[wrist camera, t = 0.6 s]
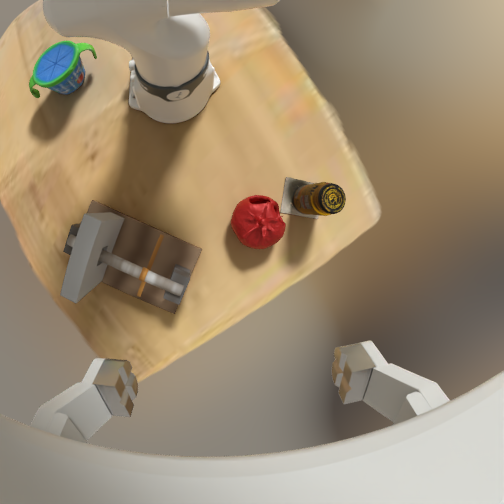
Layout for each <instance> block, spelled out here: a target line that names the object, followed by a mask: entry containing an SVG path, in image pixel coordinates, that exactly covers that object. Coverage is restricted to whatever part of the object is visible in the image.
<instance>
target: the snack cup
mask: <svg viewBox="0 0 504 504" xmlns="http://www.w3.org/2000/svg"><path fill="white" fill-rule="evenodd" d="M85 50H90V51H91V52H92V53H93V56H94V58H95V59H96V58H97V56H96V53H95V50H94V48H93V46H91V45H90V44H87V43H78V44H75V43H73V42H71V41H62V42H59V43H56V44H54V45H52V46H51V47H49V48H48V49H47V50H46V51H45V52H44V53H43V54H42V55H41V56H40V57H39V59H38V61H37V62H36V64H35V67H34V70H33V75H32V77H31V79H30V82H29V87H30V91H31V93H32V95H33V96H35V97H36V98H39V97H40V93H39V91H38V90H36V89H34V88H32V87H33V86H34V85H35V84H37V85H39V86H41V87H45V88H48V89H51V90H53V91H55V92H57V93H60V94H66V95H67V94H70V93H72V92H74V91H75V90H76V89H77V88H78V87H80V86H81V85H82V83H83V80H84V78H85V69H84V66H83V64H82V61H81V58H80V56H79V55H80V53H81V52H82V51H85Z"/></svg>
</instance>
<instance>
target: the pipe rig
mask: <svg viewBox="0 0 504 504" xmlns="http://www.w3.org/2000/svg"><path fill="white" fill-rule="evenodd" d="M106 212H112V213H114V214H116V215H118V216H120V217H123V218H125V219H124V221H123V224H122V226H121V229H120V231H119V234H118V237H117V239H116V242H115V245H114V247H113V250H112V253H110V252H108V251H105V250H103V249H102V251H101V254H100V257H99V261H101V262H103V263H105V264H107V268H106V271H105V274H104V277H103V280H102V281H101V282H103V283H105V284H107V285H109V286H112V287H114V288H116V289H118V290H120V291H122V292H125V293H127V294H129V295H131V296H134V297H136V298H138V299H140V300H143V301H145V302H147V303H150V304H152V305H154V306H157V307H159V308H162V309H164V310H167V311H169V312H172V313H174V314H175V312H176V309H177V307H178V305H179V304H180V302H181V299H182V297H183V295H184V292H185V290H186V287H187V285H188V283H189V280H190V276H191V273H192V271H193V269H194V266H195V264H196V262H197V260H198V257H199V255H200V253H201V250H202V249H201V248H199V247H196V246H194V245H192V244H190V243H187V242H185V241H183V240H180V239H178V238H176V237H174V236H171V235H169V234H167V233H165V232H162V231H160V230H158V229H156V228H153V227H151V226H149V225H147V224H145V223H142V222H140V221H138V220H136V219H133V218H131V217H129V216H127V215H125V214H122V213H120V212H118V211H116V210H114V209H111V208H109V207H107V206H105V205H103V204H101V203H98V202H96V201H94V200H92V201H91V204H90V206H89V209H88V212H87V213H106ZM80 225H81V224H74V225H72V226H71V229H70V232H69V235H68V238H67V241H66V245H65V248H64V251H63V252H65V253H67V254H69V255H71V252H72V249H73V246H74V243H75V239H76V236H77V233H78V230H79V228H80Z"/></svg>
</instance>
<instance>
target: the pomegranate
mask: <svg viewBox="0 0 504 504" xmlns="http://www.w3.org/2000/svg"><path fill="white" fill-rule="evenodd" d="M281 217H283V216H280V212H279V206H278V204H277V202H275V201H274V200H273V199H271V198H269V197H267V196H259V195H254V196H250V197H248V198H246V199H244V200H242V201H241V202H239V203H238V204H237V206H236V208H235V210H234V212H233V215H232V219H231V226H232V229H233V231H234V232H235V234H236V235H237V237H238V239H239V240H240V242H241V243H242V244H244V245H245V246H247V247H250V248H254V249H264V248H268V247H270V246H272V245H274V244H275V243H277V242H278V241H279V240H280V239H281V238H282V236H283V234H284V231H285V226H286V225H285V223H284V222H283V220H282V218H281Z"/></svg>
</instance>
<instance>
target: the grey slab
mask: <svg viewBox="0 0 504 504" xmlns="http://www.w3.org/2000/svg"><path fill="white" fill-rule="evenodd" d="M124 219H125V218H123V217H120V216H118V215H116V214H114V213H112V212H106V213H86V214H84V216H83V219H82V222H81V225H80V228H79V230H78V233H77V236H76V239H75V243H74V246H73V249H72V252H71V256H70V259H69V263H68V266H67V270H66V274H65V278H64V281H63V286H62V290H61V294H60V295H61V296H63V297H65V298H67V299H68V300H70V301H72V302H74V303H77V302H78V301H80V300H81V299H82V298H83V297H84V296H85V295H86V294H87V293H89V292H90V291H91V290H92V289H93V288H94V287H95V286H97V285H98V284H99V283H100V282H101V281H102V280H103V277H104V274H105V271H106V268H107V264H105V263H103V262H101V261H99V257H100V254H101V251H102V249H103V250H105V251H108V252H110V253H112V250H113V247H114V245H115V242H116V239H117V237H118V234H119V231H120V229H121V226H122V224H123V221H124Z"/></svg>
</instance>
